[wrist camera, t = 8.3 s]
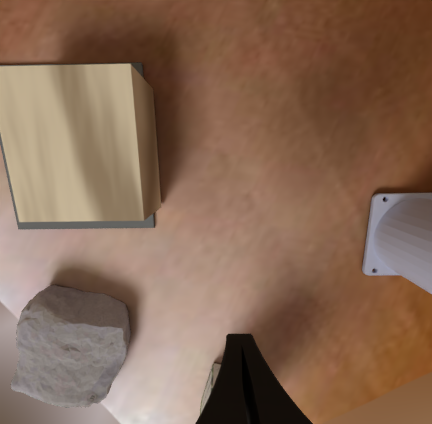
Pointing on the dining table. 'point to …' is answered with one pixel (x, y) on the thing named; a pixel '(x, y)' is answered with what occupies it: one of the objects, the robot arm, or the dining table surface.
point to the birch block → (80, 142)
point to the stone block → (70, 346)
